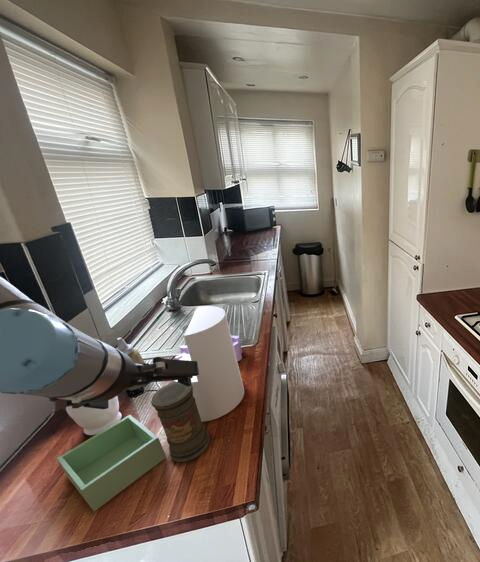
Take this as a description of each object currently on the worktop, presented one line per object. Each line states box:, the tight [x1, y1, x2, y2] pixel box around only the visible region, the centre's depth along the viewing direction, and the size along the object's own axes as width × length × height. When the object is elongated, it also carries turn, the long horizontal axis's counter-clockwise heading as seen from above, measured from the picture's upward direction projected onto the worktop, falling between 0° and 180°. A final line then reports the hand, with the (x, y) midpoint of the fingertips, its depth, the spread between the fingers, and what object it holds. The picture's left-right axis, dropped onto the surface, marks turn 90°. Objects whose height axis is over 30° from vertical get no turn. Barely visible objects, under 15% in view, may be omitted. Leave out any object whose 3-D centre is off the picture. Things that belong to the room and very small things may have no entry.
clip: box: [174, 335, 244, 363], centre depth 111 cm, size 20×12×7 cm, turn 110°
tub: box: [56, 414, 167, 512], centre depth 73 cm, size 15×15×7 cm
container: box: [150, 382, 211, 464], centre depth 75 cm, size 9×9×18 cm
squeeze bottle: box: [115, 337, 146, 391], centre depth 99 cm, size 8×8×18 cm
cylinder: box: [171, 305, 245, 423], centre depth 89 cm, size 17×17×28 cm
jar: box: [65, 395, 123, 436], centre depth 84 cm, size 11×10×15 cm
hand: (149, 389), depth 60 cm, fingers open, 13 cm apart
